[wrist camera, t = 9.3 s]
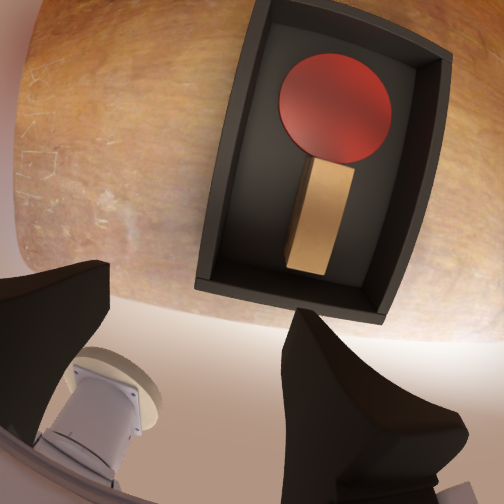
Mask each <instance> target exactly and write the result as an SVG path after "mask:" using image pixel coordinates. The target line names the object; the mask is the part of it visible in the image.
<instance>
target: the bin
mask: <svg viewBox="0 0 504 504" xmlns="http://www.w3.org/2000/svg"><path fill="white" fill-rule="evenodd" d="M325 53H334V54H341V55H345V56H348V57H351V58H353V59H356V60H358V61H359V62H361V63H363V64H364V65H366V66H367V67H368V68H369V69H371V70H372V71H373V72H374V73H375V74H376V75H377V77H378V78H379V79H380V80H381V82H382V83H383V85H384V87H385V89H386V91H387V93H388V96H389V99H390V103H391V109H392V119H391V126H390V129H389V132H388V135H387V137H386V139H385V141H384V142H383V144H382V145H381V146H380V147H379V148H378V149H377V150H376V151H375V152H374V153H373V154H371V155H370V156H368V157H367V158H364V159H362V160H360V161H357V162H352V163H343V164H341V165H344V166H347V167H351V168H354V169H355V171H354V175H353V179H352V182H351V186H350V190H349V194H348V198H347V201H346V205H345V208H344V212H343V216H342V219H341V223H340V226H339V229H338V233H337V236H336V239H335V243H334V246H333V249H332V252H331V256H330V259H329V262H328V265H327V268H326V271H325V274H324V275H320V274H316V273H311V272H306V271H302V270H297V269H292V268H288V267H286V262H285V256H284V250H283V247H284V243H285V239H286V235H287V231H288V227H289V224H290V220H291V216H292V212H293V208H294V204H295V200H296V196H297V192H298V188H299V184H300V179H301V175H302V171H303V167H304V163H305V159H306V157H312V156H310V155H308V154H307V153H305V152H304V151H302V150H301V149H300V148H299V147H297V145H296V144H295V143H294V142H293V141H292V140H291V139H290V137H289V136H288V135H287V133H286V131H285V129H284V127H283V125H282V123H281V120H280V116H279V110H278V98H279V92H280V88H281V85H282V83H283V81H284V79H285V77H286V75H287V74H288V72H289V71H290V70H291V69H292V68H293V67H294V66H295V65H296V64H298V63H299V62H300V61H302V60H304V59H306V58H308V57H311V56H314V55H318V54H325ZM452 59H453V54H452V53H451V52H449V51H447V50H446V49H444V48H442V47H440V46H439V45H437V44H435V43H433V42H432V41H430V40H428V39H426V38H424V37H422V36H420V35H418V34H416V33H414V32H412V31H410V30H408V29H406V28H404V27H402V26H399V25H397V24H395V23H393V22H390V21H388V20H386V19H383V18H381V17H378V16H376V15H373V14H371V13H368V12H365V11H363V10H360V9H357V8H354V7H351V6H348V5H345V4H342V3H338V2H335V1H332V0H256V1H255V5H254V8H253V11H252V15H251V18H250V22H249V25H248V29H247V32H246V36H245V40H244V43H243V47H242V51H241V54H240V58H239V62H238V66H237V70H236V74H235V78H234V82H233V86H232V90H231V94H230V99H229V103H228V107H227V111H226V116H225V120H224V125H223V129H222V134H221V139H220V143H219V148H218V153H217V158H216V163H215V168H214V173H213V178H212V183H211V188H210V193H209V199H208V204H207V210H206V215H205V221H204V227H203V233H202V239H201V245H200V251H199V258H198V264H197V271H196V278H195V285H194V289H195V290H200V291H204V292H208V293H213V294H217V295H222V296H226V297H231V298H235V299H240V300H245V301H249V302H254V303H259V304H264V305H269V306H274V307H279V308H284V309H289V310H294V311H296V308H297V307H299V308H304V309H309V310H313V311H314V312H315V313H316V314H317V315H322V316H327V317H333V318H339V319H345V320H351V321H357V322H363V323H370V324H377V325H382V324H383V322H384V320H385V318H386V314H388V312H389V309H390V307H391V305H392V302H393V300H394V298H395V295H396V293H397V291H398V288H399V286H400V283H401V281H402V278H403V276H404V273H405V271H406V268H407V265H408V263H409V260H410V257H411V255H412V252H413V249H414V246H415V243H416V240H417V237H418V234H419V231H420V228H421V225H422V222H423V218H424V215H425V212H426V208H427V205H428V201H429V198H430V194H431V190H432V186H433V182H434V178H435V174H436V170H437V165H438V161H439V156H440V151H441V146H442V141H443V136H444V130H445V124H446V117H447V110H448V103H449V94H450V84H451V73H452ZM337 164H339V163H337Z"/></svg>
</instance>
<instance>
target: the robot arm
mask: <svg viewBox="0 0 504 504" xmlns="http://www.w3.org/2000/svg"><path fill="white" fill-rule="evenodd" d="M109 309H110V263H107V262H103V261H100V260H90V261H85V262H80V263H76V264H72V265H68V266H64V267H60V268H57V269H53V270H48V271H44V272H40V273H35V274H31V275H26V276H20V277H13V278H4V279H0V504H157V503H154V502H151V501H147V500H144V499H141V498H138V497H135V496H132V495H129V494H126V493H123V492H121V488H120V486H119V483H118V481H117V480H115V479H113V478H114V475H115V473H116V472H117V471H118V470H119V468H120V466H121V464H122V462H123V459H124V457H125V454H126V451H127V449H128V446H129V444H130V442H131V439H132V437H133V434H135V435H139V436H141V435H142V425H141V415H140V404H139V391H138V389H137V388H136V387H134V386H131V385H128V384H126V383H123V382H120V381H117V380H114V379H111V378H109V377H106V376H103V375H101V374H98V373H96V372H93V371H91V370H88V369H86V368H83V367H81V366H79V365H76V364H74V365H73V366H72V370H73V374H74V378H75V382H76V385H77V388H76V389H75V391H74V392H73V394H72V395H71V397H70V398H69V400H68V401H67V403H66V404H65V406H64V407H63V409H62V410H61V412H60V413H59V415H58V417H57V418H56V420H55V421H54V423H53V424H52V426H51V427H50V429H48V428H47V429H46V430H45V432H44V434H43V435H42V433H41V432H40V431H38V428H39V425H40V423H41V420H42V417H43V415H44V412H45V410H46V407H47V405H48V403H49V401H50V399H51V397H52V395H53V393H54V391H55V388H56V386H57V385H58V383H59V381H60V379H61V378H62V376H63V374H64V372H65V371H66V369H67V368H68V366H69V365H70V363H71V362H72V361H73V359H74V358H75V357H76V356H77V354H78V353H79V352H80V350H81V349H82V348H83V347H84V345H85V344H86V343H87V342H88V340H89V339H90V338H91V336H92V335H93V334H94V333H95V332H96V330H97V329H98V328H99V326H100V325H101V323H102V321H103V320H104V318H105V316H106V315H107V313H108V311H109ZM281 379H282V390H283V399H284V409H285V419H286V448H285V466H284V478H283V488H282V498H281V504H478V502H477V499H476V497H475V494H474V492H473V489H472V487H471V484H470V482H464V483H462V484H459V485H456V486H453V487H451V488H448V489H445V490H443V491H441V492H439V493H437V494H435V491H434V488H433V487H434V486H436V485H437V484H438V482H439V480H438V478H437V475H436V474H437V473H438V472H439V471H440V470H441V469H442V468H443V467H445V466H446V465H447V464H448V463H449V462H450V461H451V460H452V459H453V458H454V457H455V456H456V455H457V454H458V453H459V452H460V451H461V450H462V449H463V447H464V446H465V444H466V442H467V440H468V437H469V432H468V430H467V428H466V426H465V424H464V422H463V421H462V419H461V417H460V415H459V414H458V413H457V412H454V411H451V410H449V409H446V408H443V407H440V406H438V405H435V404H432V403H430V402H428V401H425V400H423V399H421V398H419V397H417V396H415V395H413V394H411V393H409V392H407V391H406V390H404V389H402V388H401V387H399V386H397V385H396V384H394V383H392V382H391V381H389V380H387V379H386V378H385V377H383V376H382V375H380V374H379V373H378V372H376V371H375V370H374V369H373V368H371V367H370V366H368V365H367V364H366V363H365V362H364V361H363V360H361V359H360V358H359V357H358V356H357V355H356V354H355V353H354V352H353V351H352V350H351V349H350V348H348V347H347V346H346V345H345V344H344V343H343V342H342V341H341V339H340V338H338V336H337V335H336V334H335V333H334V332H333V331H332V330H331V329H330V328H329V327H328V325H327V324H326V323H325V322H324V321H323V320H322V319H321V318H320V317H319V316H318V315H317V314H316V313H315V312H314V311H313V310H309V309H304V308H299V307H297V308H296V311H295V314H294V317H293V320H292V323H291V326H290V329H289V332H288V335H287V338H286V340H285V343H284V346H283V349H282V358H281Z"/></svg>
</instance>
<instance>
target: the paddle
mask: <svg viewBox="0 0 504 504" xmlns="http://www.w3.org/2000/svg"><path fill="white" fill-rule="evenodd" d="M278 110H279V116H280V120H281V123H282V125H283V127H284V129H285V131H286V133H287V135H288V136H289V137H290V139H291V140H292V141H293V142H294V143H295V144H296V145H297V147H299V148H300V149H301V150H302V151H304V152H305V153H307V154H308V155H310V156H312V157H306V159H305V163H304V167H303V171H302V175H301V179H300V184H299V188H298V192H297V196H296V200H295V204H294V208H293V212H292V216H291V220H290V224H289V227H288V231H287V235H286V239H285V243H284V247H283V250H284V256H285V262H286V267H288V268H292V269H297V270H302V271H306V272H311V273H316V274H320V275H324V274H325V271H326V268H327V265H328V262H329V259H330V256H331V252H332V249H333V246H334V243H335V239H336V236H337V233H338V229H339V226H340V223H341V219H342V216H343V212H344V208H345V205H346V201H347V198H348V194H349V190H350V186H351V182H352V179H353V175H354V171H355V169H354V168H351V167H347V166H344V165H341V164H343V163H352V162H357V161H360V160H362V159H364V158H367V157H368V156H370V155H371V154H373V153H374V152H375V151H376V150H377V149H378V148H379V147H380V146H381V145H382V144H383V142H384V141H385V139H386V137H387V135H388V132H389V129H390V126H391V119H392V109H391V103H390V99H389V96H388V93H387V91H386V89H385V87H384V85H383V83H382V82H381V80H380V79H379V78H378V77H377V75H376V74H375V73H374V72H373V71H372V70H371V69H369V68H368V67H367V66H366V65H364V64H363V63H361V62H359V61H358V60H356V59H353V58H351V57H348V56H345V55H341V54H334V53H325V54H318V55H314V56H311V57H308V58H306V59H304V60H302V61H300V62H299V63H298V64H296V65H295V66H294V67H293V68H292V69H291V70H290V71H289V72H288V74H287V75H286V77H285V79H284V81H283V83H282V85H281V88H280V92H279V98H278ZM337 163H339V164H337Z"/></svg>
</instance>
